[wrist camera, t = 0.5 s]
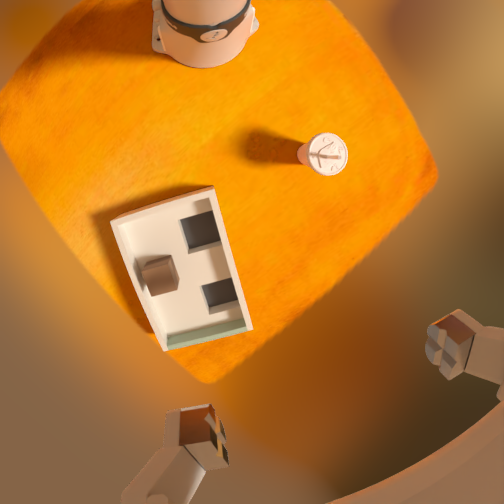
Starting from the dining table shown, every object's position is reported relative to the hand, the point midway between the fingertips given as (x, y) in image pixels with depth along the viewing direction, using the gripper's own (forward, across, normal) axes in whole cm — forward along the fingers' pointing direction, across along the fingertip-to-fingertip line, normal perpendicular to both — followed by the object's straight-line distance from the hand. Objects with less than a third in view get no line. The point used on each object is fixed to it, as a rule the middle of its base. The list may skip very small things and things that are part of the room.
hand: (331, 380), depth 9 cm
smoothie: (+42, -15, -5) cm, 45 cm away
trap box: (+42, +11, +9) cm, 44 cm away
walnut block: (+39, +14, +8) cm, 42 cm away
